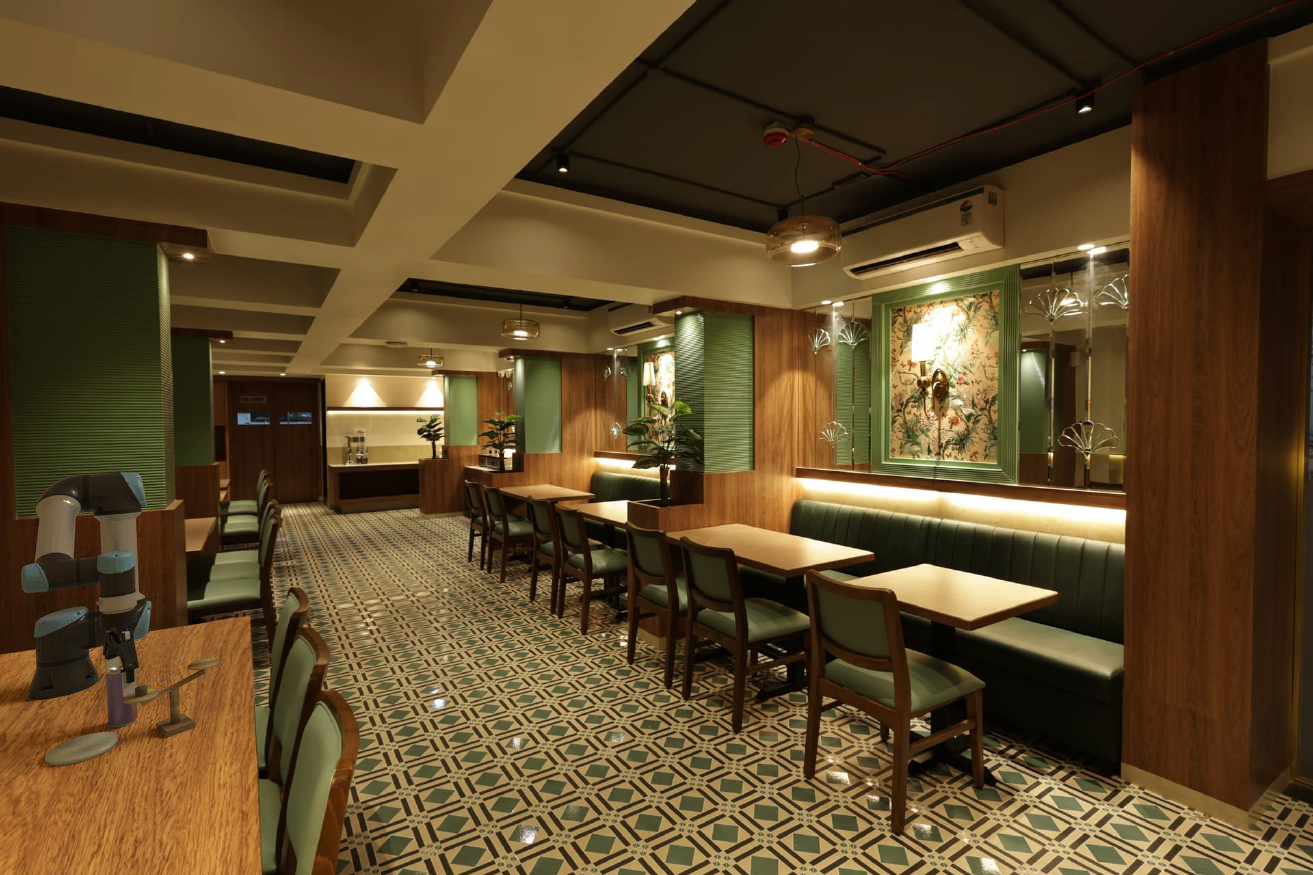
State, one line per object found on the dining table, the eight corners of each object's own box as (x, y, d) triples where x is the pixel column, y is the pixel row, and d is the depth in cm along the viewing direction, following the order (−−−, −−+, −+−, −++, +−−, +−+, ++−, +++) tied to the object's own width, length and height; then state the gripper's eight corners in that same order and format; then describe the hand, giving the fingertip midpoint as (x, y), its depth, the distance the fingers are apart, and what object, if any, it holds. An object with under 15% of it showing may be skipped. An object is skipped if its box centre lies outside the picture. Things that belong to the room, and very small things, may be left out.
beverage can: (120, 729, 160) (117, 673, 159) (102, 727, 161) (99, 671, 160) (143, 718, 165) (141, 664, 165) (125, 716, 167) (123, 662, 166)
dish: (39, 754, 148) (38, 749, 148) (108, 731, 159) (108, 726, 159) (52, 771, 141) (52, 766, 141) (125, 746, 151) (124, 741, 151)
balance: (120, 740, 154) (117, 682, 154) (214, 707, 171) (212, 655, 170) (130, 750, 150) (128, 690, 149) (226, 715, 167) (224, 661, 166)
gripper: (85, 606, 166) (89, 682, 166) (114, 621, 152) (118, 705, 152) (121, 599, 172) (124, 673, 173) (152, 613, 158) (155, 694, 158)
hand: (121, 688), depth 162 cm, fingers open, 13 cm apart
